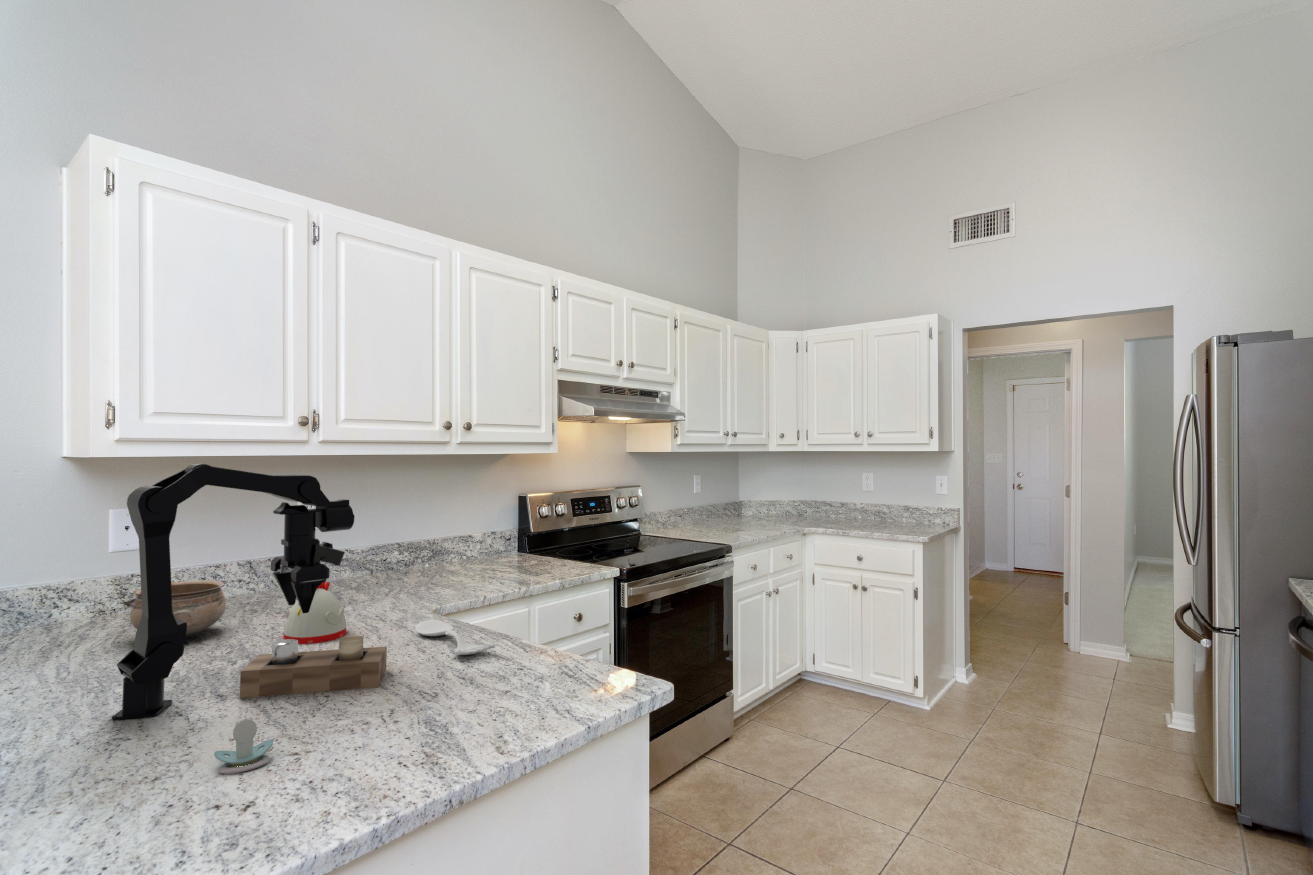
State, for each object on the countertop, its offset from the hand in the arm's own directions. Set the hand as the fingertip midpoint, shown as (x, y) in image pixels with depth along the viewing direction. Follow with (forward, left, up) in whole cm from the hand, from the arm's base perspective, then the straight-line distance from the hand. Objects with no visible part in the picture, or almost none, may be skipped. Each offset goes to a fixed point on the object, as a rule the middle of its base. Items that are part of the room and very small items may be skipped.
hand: (298, 608), depth 132 cm
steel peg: (-8, 0, -10) cm, 13 cm away
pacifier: (-41, -4, -14) cm, 44 cm away
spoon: (+14, -30, -14) cm, 36 cm away
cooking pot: (+34, +35, -13) cm, 51 cm away
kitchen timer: (+28, +3, -14) cm, 31 cm away
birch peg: (-8, -12, -10) cm, 17 cm away
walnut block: (-8, -6, -13) cm, 16 cm away
